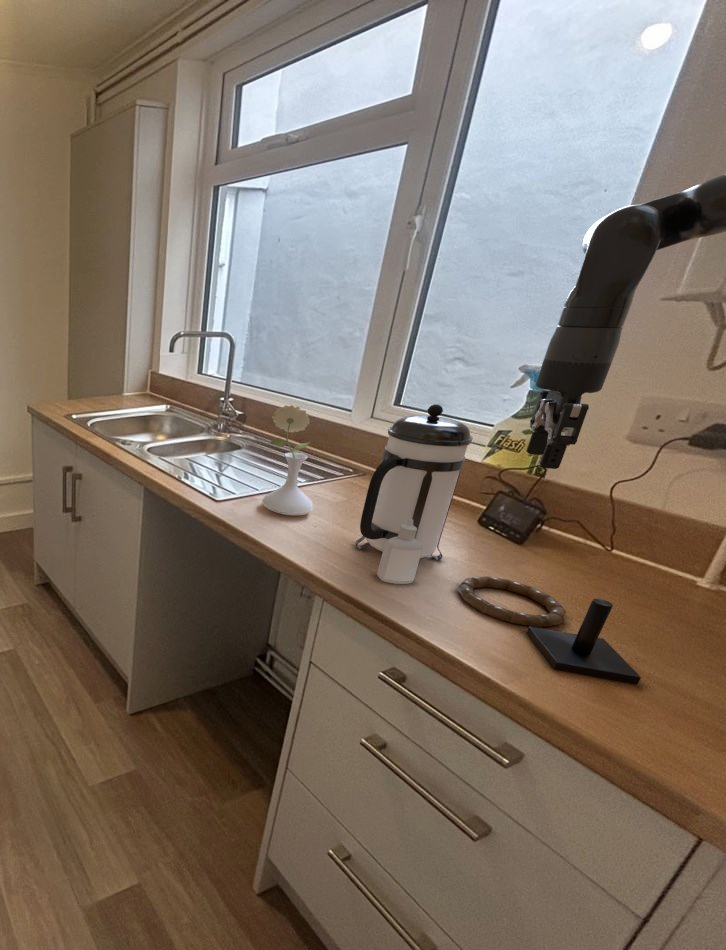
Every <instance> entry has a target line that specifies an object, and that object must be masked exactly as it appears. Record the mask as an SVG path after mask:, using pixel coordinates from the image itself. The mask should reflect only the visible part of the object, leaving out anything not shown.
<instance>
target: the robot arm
mask: <svg viewBox="0 0 726 950" xmlns="http://www.w3.org/2000/svg"><path fill="white" fill-rule="evenodd" d="M723 233H726V173H725V174H721V175H719V176H715V177H713V178H711V179H708V180H705V181H703V182H702V183H699V184H696V185H694V186H692V187H690V188H688V189H685V190H682V191H679V192H676V193H672V194H669V195H666V196H662V197H659V198H656V199H652V200H650V201H646V202H643V203H640V204H632V205H627V206H624V207H621V208H618V209H616V210H614V211H612V212H611V213H608V214H607V215H605V216H603V217H601V218H600V219H598V220H597V221H596V222H595V223H593V224H592V226H591V227H590V228H589V229H588V230H587V232H586V233H585V235H584V237H583V240H582V252H583V254H584V259H583V262H582V265H581V268H580V270H579V273H578V277H577V280H576V283H575V285H574V286H573V287H572V289H571V290H570V292H569V293H568V295H567V297H566V300H565V301H564V304H563V308H562V311H561V314H560V317H559V320H558V323H557V325H556V328H555V330H554V332H553V334H552V336H551V338H550V340H549V343H548V346H547V349H546V352H545V354H544V357H543V360H542V363H541V367H540V369H539V372H538V375H537V378H536V381H535V386H536V387H537V388H538V389H541V391H540V393H539V397H538V400H537V402H536V405H535V408H534V411H533V413H532V417H531V418H530V420H529V423H530V425H531V431H532V432H531V436H530V437H529V441H528V444H527V447H526V453H527V454H528V455H534V456H535V455H537V456H541V459H540V462H539V466H540V467H541V468H543V469H551V470H558V469H559V468H560V467H561V464H562V461H563V458H564V456H565V454H566V450H567V448H568V447H570V446H571V445H576V443H577V442H578V439H579V436H580V433H581V430H582V427H583V424H584V421H585V418H586V416H587V413H588V411H589V408H590V407H589V404H588V403H581V401H582V396H583V395H584V394H595V393H597V392H598V393H599V392H600V391H602V389H603V386H604V384H605V382H606V379H607V376H608V374H609V371H610V368H611V366H612V363H613V360H614V358H615V356H616V353H617V350H618V347H619V345H620V341H621V336H622V331H623V327H624V325H625V322H626V320H627V317H628V315H629V312H630V310H631V306H632V303H633V301H634V296H635V294H636V291H637V289H638V287H639V284H640V283H641V281H642V279H643V278H644V276H645V274H646V273H647V271H648V268H649V267H650V265H651V264H652V261H653V259H654V257H655V255H656V252H657V251H659V250H662V249H666V248H668V247H672V246H675V245H677V244H680V243H684V242H686V241H690V240H694V239H695V240H696V239H700V238H705V237H709V236H715V235H719V234H723ZM563 433H564V434H563ZM562 434H563V435H562Z"/></svg>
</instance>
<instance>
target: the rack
mask: <svg viewBox="0 0 726 950" xmlns="http://www.w3.org/2000/svg"><path fill="white" fill-rule="evenodd" d="M613 606H614V604H613V603H612V602H610V601H608V600H606V599H603V598H602V599H601V598H593V599H592V600H591V602H590V605H589V607H588V609H587V611H586V614H585V616H584V618H583V621H582V623H581V624H580V627H579V629H578V631H577V634H576V633H573V632H565V631H558V630H552V629H547V628H542V627H534V626H528V627H527V630H526V635H527V636H528V637H529V639H530V640H531V641H532V642H533V644H534V645H535V646H536V648H537V649H538V650H539V652H540V653H541V654H542V655H543V657H544V658H545V660H546V661H547V662H548V663H549V664H550V666H551V667H552V669H553V670H557V671H563V672H568V673H574V674H578V675H585V676H589V677H596V678H601V679H607V680H611V681H617V682H623V683H629V684H634V685H639V683H640V681H641V679H642V676H640V675H639V673H638V672H637V671H635V669H634V668H633V667H632V666H631V665H630V664H629V662H627V661H626V660H625V659H624V658H623V657H622V656H621V654H619V653H618V652H617V651H616V650H615V648H613V647H612V645H611V644H609V643H608V641H607V640H605V638H601V637H600V634H601V632H602V630H603V628H604V627H605V623H606V621H607V619H608V617H609V616H610V613H611V611H612V609H613Z"/></svg>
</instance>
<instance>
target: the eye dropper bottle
mask: <svg viewBox="0 0 726 950" xmlns="http://www.w3.org/2000/svg"><path fill="white" fill-rule="evenodd" d="M416 531H417V528H416V527H415V526H413V520H412V519H408V521H407V523H406V524H403V525H401V527H400V530H399V534H398V536H397V537H393V538H390V539H388V540H387V541H386V543H385V546H384V550H383V552H382V553H381V558H380V560H379V561H380V562H379V565H378V570H377V573H376V575H377V577H378V578H379V579H380V580H381V581H382V582H384V583H388V584H393V585H394V584H395V585H408V584H411V583H414V580H415V577H416V573H417V570H418V566H419V563H420V560H421V558H420V556H421V553H422V549H423V546H422V544H421V543H420V542H419V541H418V540H416V539H414V538H415V534H416Z"/></svg>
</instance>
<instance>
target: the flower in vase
mask: <svg viewBox="0 0 726 950" xmlns="http://www.w3.org/2000/svg"><path fill="white" fill-rule="evenodd" d="M271 418H272V420H273V421H272V422H273V423H274V426H275V427H276V428H278V430H284V431H285V432H286V438H285V440H284V439H282V438H281V437H276V438H273V439H272V440H270V441H269V442H268V444H269V445H273V446H276V447H279V448H283V447H285V446H288V449H289V450H290V452H285V453H284V454H283V455H284V457H285V459H286V461H287V474H286V475H287V476H286V481H285V483H284V484H283V485H282V486H281V487H278V488H277V489H274V490H272V491H270V492H269V493H267V494H266V495H265V496H264V497H263V498H262V504H263V507H265V508H266V509H268V510H269V511H272V512H274V513H277V514H279V515H284V516H303V515H308V514H310V513H312V511H314V508H315V506H314V503H313V501H312V499H310V498H309V496H307V494H306V493H305V492H303V491H302V489H300V488H299V486H298V477H299V473H300V470H301V468H302V465H303V464H304V463H305V461H306V460H307V459H308V458H309V456H308V455H307V454H305V453H301V452H294V451H299V450H303V449H304V448H307V447H308V446H309V445H310V444H311V441H308V442H303V443H298V444H297V445H296V446H295V447H293V448H292V446H291V445H290V442H289V433H295V432H296V433H299V432H300V431H306V428H307V427H308V425H310V424H311V422H310V421H311V419H310V417H309V413H307V411H306V410H303V409H301V407H300V406H294V405H292V404H291V405H288V404H287V405H286V404H285V405H284V406H283V407H280V406H279V407H278V408H277V409H275V412H273V415H271Z"/></svg>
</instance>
